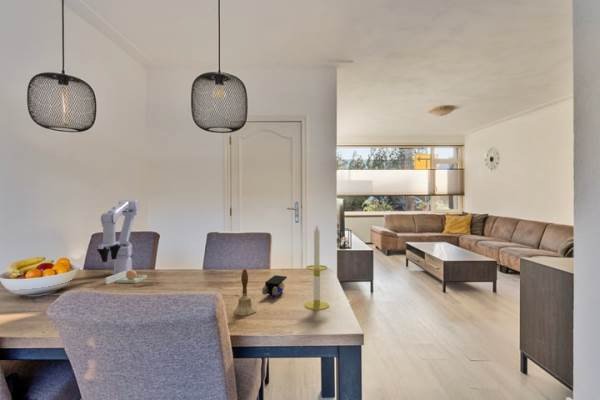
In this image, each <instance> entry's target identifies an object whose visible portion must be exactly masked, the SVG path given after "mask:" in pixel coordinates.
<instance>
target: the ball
mask: <svg viewBox="0 0 600 400" xmlns="http://www.w3.org/2000/svg"><path fill="white" fill-rule="evenodd" d="M136 275H137V271H135V270H134V269H132V270H129V271H128V272H127V273H126V277H127V278H128V279H130V280H132V279H134V278H135V277H136Z"/></svg>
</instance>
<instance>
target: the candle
mask: <svg viewBox="0 0 600 400" xmlns="http://www.w3.org/2000/svg"><path fill="white" fill-rule="evenodd" d="M305 268H306V270H309V271H313V300H312V301H308V302H305V303H304V308H306V309H309V310H313V311H322V310H326V309H329V308H330V305H329V303H328V302H325V301H322V300H321V271H326V270H327V269H328V267H327V266H326V265H321V264H320V229H319V228H318V225H315V229H314V231H313V264H311V265H306V267H305Z"/></svg>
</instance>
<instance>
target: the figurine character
mask: <svg viewBox="0 0 600 400" xmlns="http://www.w3.org/2000/svg"><path fill="white" fill-rule="evenodd" d="M286 279H287V276H284V275H273V276H272V277H270V278H269V279H268V280H267V281H265V282H264V283H265V284H264V286H263V287H262V291H261V292H262V293H261V294H262V295H263V296H264V295H265V296H266V295H268V296H266V299H270V297H272V299H273V300H275V299H276V298H277V296H279V294H281V293H283V291H284V290H285V284H284V281H285V280H286Z"/></svg>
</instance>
